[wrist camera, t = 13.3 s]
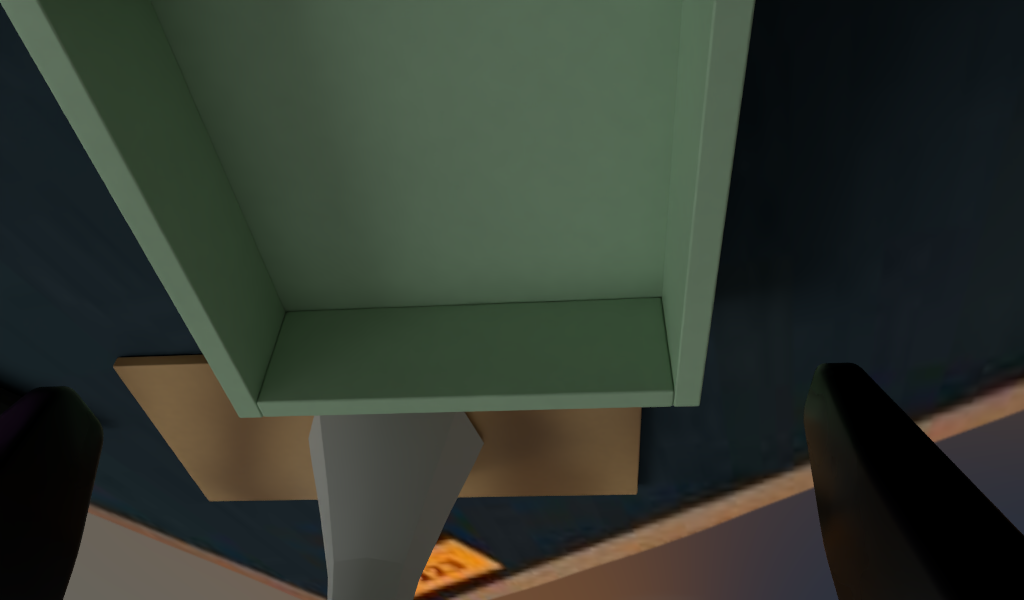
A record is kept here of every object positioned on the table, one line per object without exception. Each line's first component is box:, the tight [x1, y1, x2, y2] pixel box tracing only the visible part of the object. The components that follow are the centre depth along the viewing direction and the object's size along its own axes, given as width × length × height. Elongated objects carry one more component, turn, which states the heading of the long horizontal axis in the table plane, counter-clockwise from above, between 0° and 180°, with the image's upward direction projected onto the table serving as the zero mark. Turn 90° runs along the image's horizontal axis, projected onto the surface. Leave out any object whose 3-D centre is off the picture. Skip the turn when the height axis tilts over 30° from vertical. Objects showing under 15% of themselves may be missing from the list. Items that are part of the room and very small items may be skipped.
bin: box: [0, 0, 756, 418], centre depth 21 cm, size 15×15×4 cm
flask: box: [308, 412, 484, 600], centre depth 29 cm, size 7×7×10 cm
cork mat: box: [113, 355, 642, 501], centre depth 32 cm, size 20×10×1 cm, turn 95°
